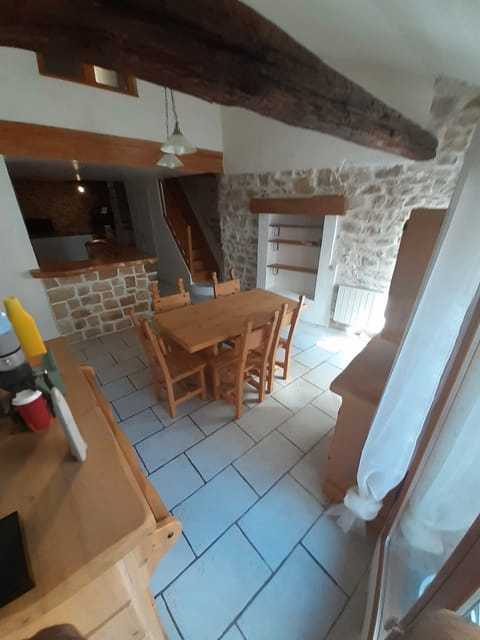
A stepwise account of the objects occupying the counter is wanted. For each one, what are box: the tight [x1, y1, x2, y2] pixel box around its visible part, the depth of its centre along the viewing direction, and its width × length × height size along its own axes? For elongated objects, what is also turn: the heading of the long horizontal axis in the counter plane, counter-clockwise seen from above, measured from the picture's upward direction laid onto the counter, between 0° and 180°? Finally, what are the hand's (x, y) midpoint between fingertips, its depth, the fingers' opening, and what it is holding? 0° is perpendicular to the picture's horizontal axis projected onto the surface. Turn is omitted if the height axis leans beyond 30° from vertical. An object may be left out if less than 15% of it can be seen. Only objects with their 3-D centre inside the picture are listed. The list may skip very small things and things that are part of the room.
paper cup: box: [12, 389, 53, 433], centre depth 79 cm, size 8×8×14 cm
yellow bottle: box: [2, 296, 48, 358], centre depth 109 cm, size 9×9×29 cm
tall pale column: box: [51, 387, 88, 463], centre depth 69 cm, size 11×4×22 cm, turn 40°
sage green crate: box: [26, 346, 68, 403], centre depth 94 cm, size 12×16×13 cm
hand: (39, 421), depth 81 cm, fingers open, 7 cm apart
